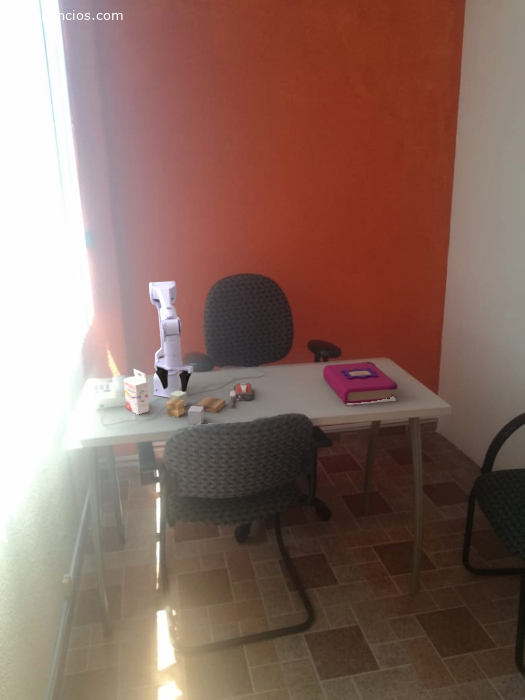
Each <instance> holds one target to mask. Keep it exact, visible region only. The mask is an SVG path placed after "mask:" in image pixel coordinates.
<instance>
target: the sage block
mask: <svg viewBox="0 0 525 700" xmlns="http://www.w3.org/2000/svg"><path fill="white" fill-rule="evenodd" d="M187 396H188V395H187V392H186V391H185V392H182V391H178V390H177V391H175V392H173V393H171V394H169V397H168V398H169V401H170V400H171V399H173V398H174V399H180V400H184V407H186V406H188V397H187Z"/></svg>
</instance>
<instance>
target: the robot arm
mask: <svg viewBox="0 0 525 700" xmlns="http://www.w3.org/2000/svg"><path fill="white" fill-rule="evenodd" d="M176 283H177V282H175V280H171V281H170V280H169V281H157V282H156V281H155V282H153V281H151V282H149V284H148V290H149V291H148V292H149V299H150V302H151V304H152V305H153V306H155V307H156V310H157V312H158V315H157V317H158V325H159V336H160V348H159V349H158V350H157V351H156V352H155V354H154V364H153V366H154V369H155V372H154V375H153V377H152V378H153V379H152V380H153V381H152V382H153V394H152V395H153V396H157V397H164V398H169V394H171V393H173V392H175V391H177V390H178V391H182V392H186V391H187V389H188V384H189V381H190V378H191V375H192V374H193V373H194V366H193V365H192V366H191V365H187V364H185V363H182V346H181V345H182V344H181V335H182V323H181V319H180V317H178V313H177V309H176V307H175V306H174V305H173V304H174V303H176V300H177V295H178V293H177V290H178V289H177V284H176ZM180 384H181V389H180Z"/></svg>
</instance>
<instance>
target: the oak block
mask: <svg viewBox="0 0 525 700" xmlns="http://www.w3.org/2000/svg"><path fill="white" fill-rule="evenodd" d="M184 412H185V406H184V400H180V399H174V398H173V399H171V400H170V399H169V401H167V402H166V415H168V416H167V417H172V416H175V417H174V418H180V417H181V416H182V415H184V414H185V413H184ZM180 415H181V416H180ZM179 416H180V417H179Z"/></svg>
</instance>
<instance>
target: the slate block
mask: <svg viewBox="0 0 525 700" xmlns="http://www.w3.org/2000/svg"><path fill="white" fill-rule="evenodd" d="M187 420H188V425H194V424H199V423H202V424H203V423H204V421H205V411H204V406H196V405H190V407H189V409H188V410H187Z"/></svg>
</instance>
